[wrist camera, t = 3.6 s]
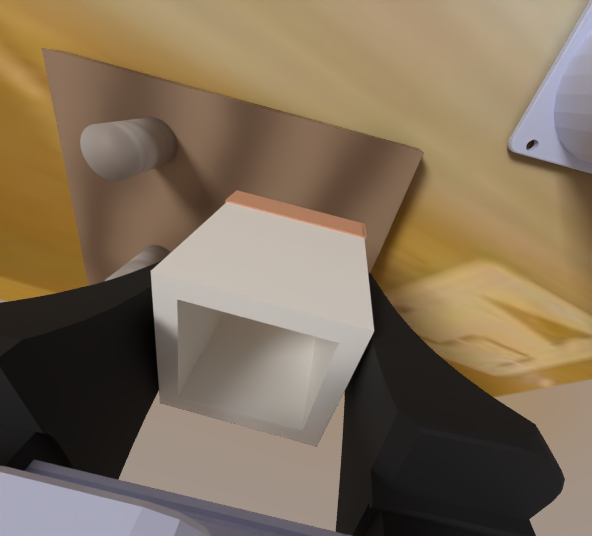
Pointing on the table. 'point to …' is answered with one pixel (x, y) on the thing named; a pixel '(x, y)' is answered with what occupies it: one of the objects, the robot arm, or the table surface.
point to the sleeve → (263, 316)
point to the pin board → (202, 163)
